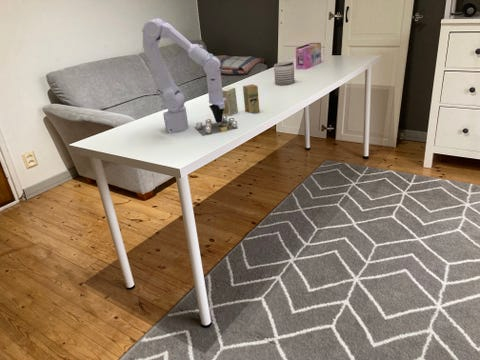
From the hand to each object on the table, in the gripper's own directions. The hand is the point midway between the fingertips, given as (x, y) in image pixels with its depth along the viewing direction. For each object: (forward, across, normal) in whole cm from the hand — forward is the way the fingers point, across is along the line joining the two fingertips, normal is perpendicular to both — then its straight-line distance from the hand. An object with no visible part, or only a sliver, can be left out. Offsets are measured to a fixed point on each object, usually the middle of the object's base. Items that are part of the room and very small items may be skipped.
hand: (218, 122), depth 161 cm
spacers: (+2, -1, +1) cm, 3 cm away
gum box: (+3, +92, -95) cm, 132 cm away
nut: (+2, -5, 0) cm, 6 cm away
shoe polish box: (+3, +13, -20) cm, 24 cm away
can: (+3, +55, -58) cm, 80 cm away
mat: (+3, -1, +2) cm, 3 cm away
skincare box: (+3, +15, -10) cm, 18 cm away
